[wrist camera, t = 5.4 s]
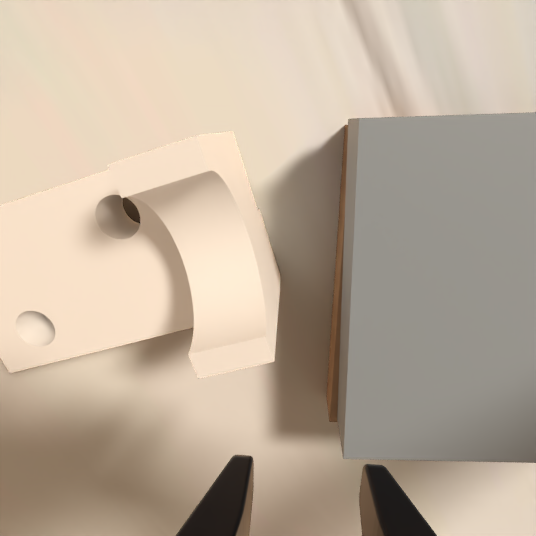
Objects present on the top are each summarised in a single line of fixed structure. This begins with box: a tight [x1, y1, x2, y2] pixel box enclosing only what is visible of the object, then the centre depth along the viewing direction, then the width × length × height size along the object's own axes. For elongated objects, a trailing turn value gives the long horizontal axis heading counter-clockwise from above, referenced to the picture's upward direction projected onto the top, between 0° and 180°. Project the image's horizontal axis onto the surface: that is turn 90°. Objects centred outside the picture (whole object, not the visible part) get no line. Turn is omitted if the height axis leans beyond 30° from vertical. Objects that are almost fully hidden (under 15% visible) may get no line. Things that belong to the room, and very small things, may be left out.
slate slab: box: [337, 112, 536, 463], centre depth 16 cm, size 9×14×2 cm, turn 2°
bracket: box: [0, 131, 281, 379], centre depth 16 cm, size 13×7×8 cm, turn 107°
